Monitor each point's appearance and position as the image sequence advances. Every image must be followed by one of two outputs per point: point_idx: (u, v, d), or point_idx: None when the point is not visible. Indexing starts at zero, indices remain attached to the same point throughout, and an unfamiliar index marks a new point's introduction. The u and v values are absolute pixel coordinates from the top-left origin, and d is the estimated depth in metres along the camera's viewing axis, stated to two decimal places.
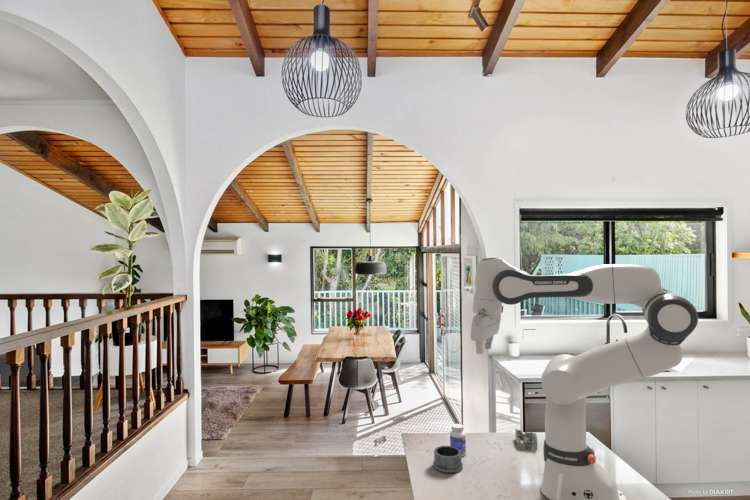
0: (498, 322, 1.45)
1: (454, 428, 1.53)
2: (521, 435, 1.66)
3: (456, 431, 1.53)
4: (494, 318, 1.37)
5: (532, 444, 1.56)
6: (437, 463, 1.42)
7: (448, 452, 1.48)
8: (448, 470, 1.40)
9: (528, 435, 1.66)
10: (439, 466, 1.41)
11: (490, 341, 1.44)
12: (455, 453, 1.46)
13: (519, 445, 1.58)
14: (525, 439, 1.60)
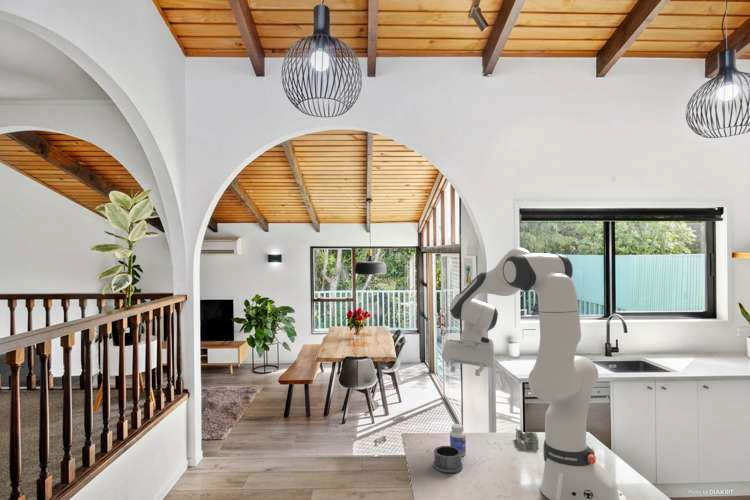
0: (489, 353, 1.65)
1: (454, 428, 1.53)
2: (521, 435, 1.66)
3: (456, 431, 1.53)
4: (465, 343, 1.70)
5: (533, 444, 1.56)
6: (437, 463, 1.42)
7: (448, 452, 1.48)
8: (448, 470, 1.40)
9: (528, 435, 1.66)
10: (439, 466, 1.41)
11: None
12: (455, 453, 1.46)
13: (520, 445, 1.58)
14: (526, 439, 1.60)
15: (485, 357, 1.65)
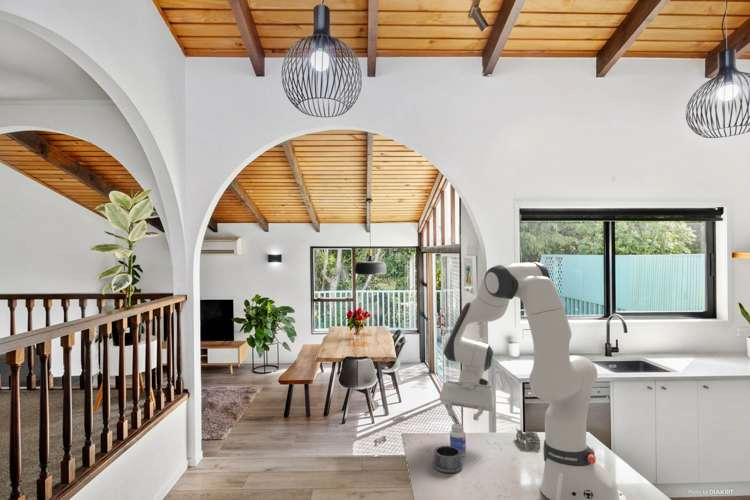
0: (487, 396, 1.60)
1: (454, 428, 1.53)
2: (521, 435, 1.66)
3: (456, 431, 1.53)
4: (463, 385, 1.66)
5: (535, 444, 1.56)
6: (437, 463, 1.42)
7: (448, 452, 1.48)
8: (448, 470, 1.40)
9: (528, 435, 1.66)
10: (439, 466, 1.41)
11: None
12: (455, 453, 1.46)
13: (522, 445, 1.58)
14: (528, 439, 1.60)
15: (483, 400, 1.60)
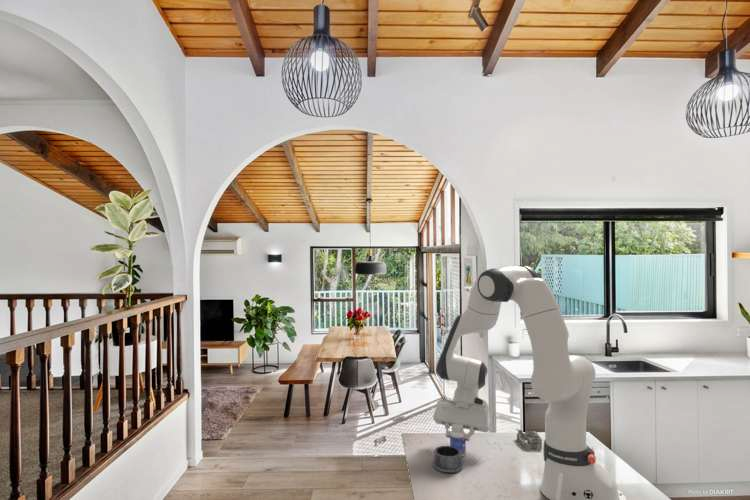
0: (483, 416, 1.54)
1: (454, 428, 1.53)
2: (522, 435, 1.66)
3: (456, 431, 1.53)
4: (458, 405, 1.60)
5: (537, 443, 1.57)
6: (437, 463, 1.42)
7: (448, 452, 1.48)
8: (448, 470, 1.40)
9: (528, 434, 1.67)
10: (439, 466, 1.41)
11: None
12: (455, 453, 1.46)
13: (524, 445, 1.58)
14: (529, 439, 1.60)
15: (479, 421, 1.54)
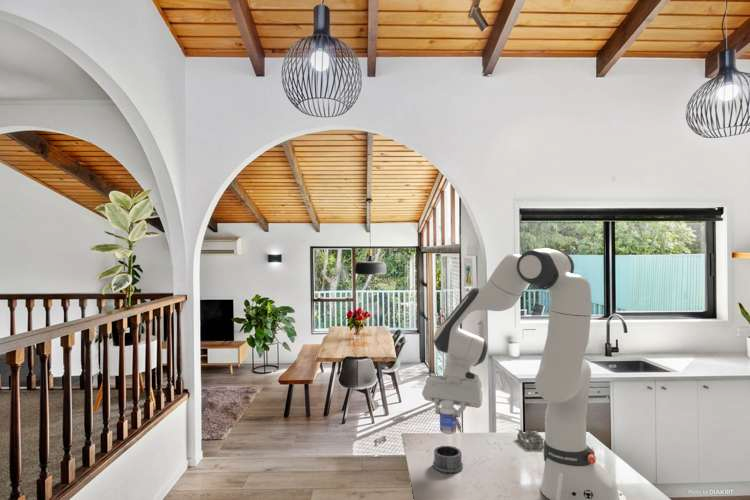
0: (474, 391, 1.45)
1: (444, 404, 1.44)
2: (522, 435, 1.66)
3: (446, 407, 1.43)
4: (448, 380, 1.50)
5: (539, 443, 1.57)
6: (437, 463, 1.42)
7: (448, 452, 1.48)
8: (448, 470, 1.40)
9: (528, 434, 1.67)
10: (439, 466, 1.41)
11: None
12: (455, 453, 1.46)
13: (527, 445, 1.58)
14: (531, 439, 1.60)
15: (470, 396, 1.44)
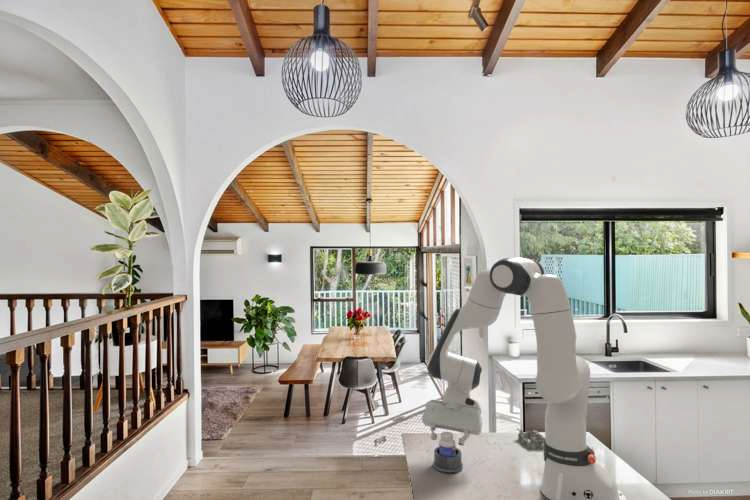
0: (474, 418, 1.44)
1: (443, 437, 1.43)
2: (522, 435, 1.67)
3: (445, 440, 1.43)
4: (448, 406, 1.50)
5: (542, 443, 1.57)
6: (437, 463, 1.42)
7: None
8: (448, 470, 1.40)
9: (528, 434, 1.67)
10: (439, 466, 1.41)
11: None
12: None
13: (529, 445, 1.58)
14: (532, 438, 1.60)
15: (470, 423, 1.44)
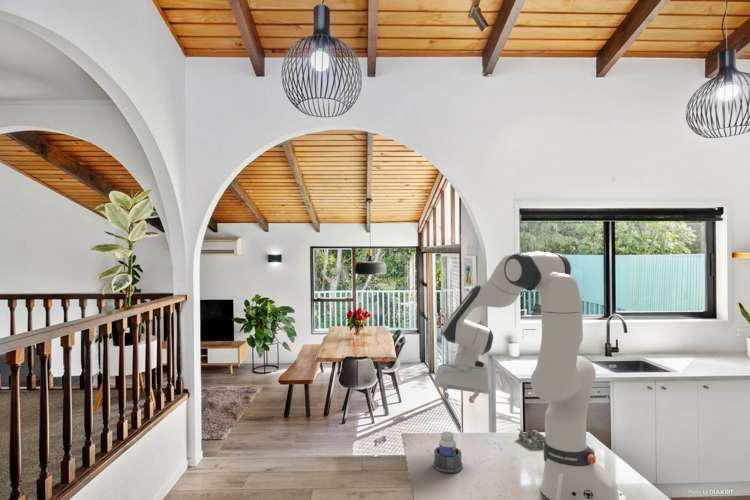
0: (483, 378, 1.56)
1: (444, 436, 1.43)
2: None
3: (446, 440, 1.43)
4: (459, 368, 1.61)
5: (543, 442, 1.58)
6: (437, 463, 1.42)
7: None
8: (448, 470, 1.40)
9: (528, 433, 1.68)
10: (439, 466, 1.41)
11: None
12: None
13: (531, 445, 1.58)
14: (534, 438, 1.60)
15: (479, 382, 1.56)
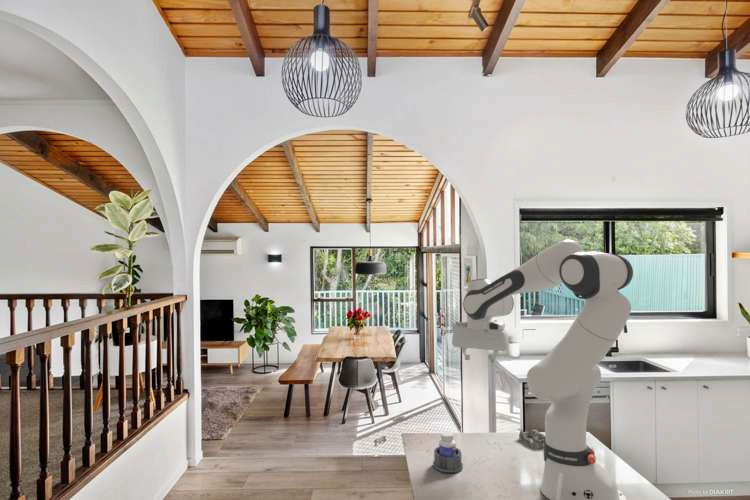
0: (501, 339, 1.54)
1: (443, 437, 1.43)
2: None
3: (445, 440, 1.43)
4: (474, 331, 1.58)
5: None
6: (437, 463, 1.42)
7: None
8: (448, 470, 1.40)
9: (528, 433, 1.68)
10: (439, 466, 1.41)
11: None
12: None
13: (533, 445, 1.58)
14: (535, 438, 1.60)
15: (497, 344, 1.55)
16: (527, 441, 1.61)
